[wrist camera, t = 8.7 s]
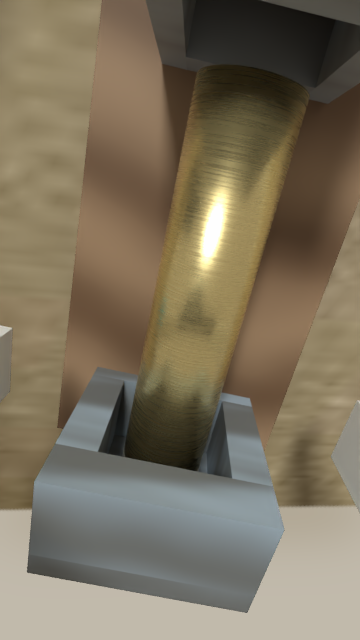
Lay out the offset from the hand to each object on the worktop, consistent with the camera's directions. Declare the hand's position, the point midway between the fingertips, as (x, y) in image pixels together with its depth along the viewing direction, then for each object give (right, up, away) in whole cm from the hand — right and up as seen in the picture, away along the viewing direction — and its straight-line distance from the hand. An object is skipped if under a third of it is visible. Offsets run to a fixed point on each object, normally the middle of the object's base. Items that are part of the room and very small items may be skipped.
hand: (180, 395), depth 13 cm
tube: (+1, +4, +2) cm, 4 cm away
